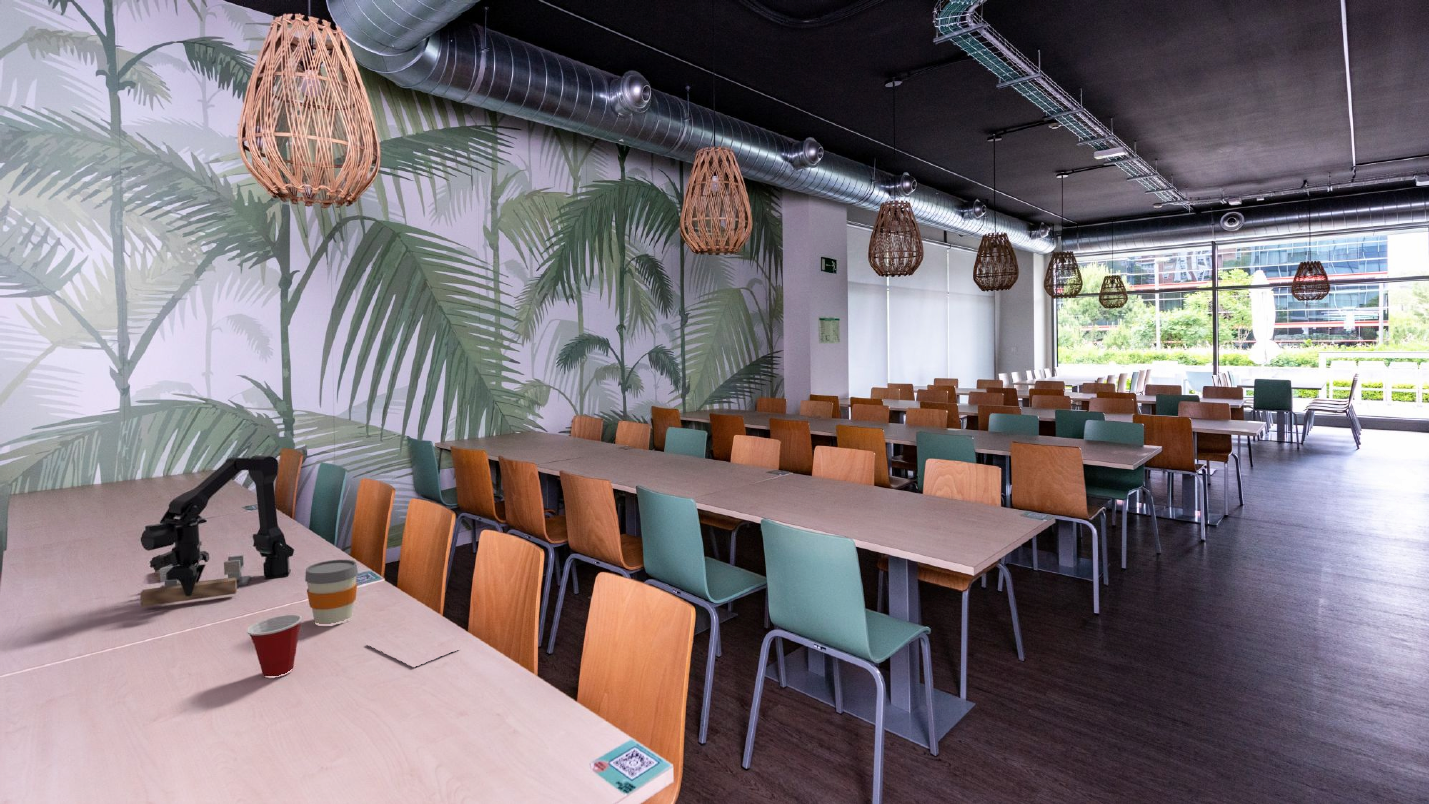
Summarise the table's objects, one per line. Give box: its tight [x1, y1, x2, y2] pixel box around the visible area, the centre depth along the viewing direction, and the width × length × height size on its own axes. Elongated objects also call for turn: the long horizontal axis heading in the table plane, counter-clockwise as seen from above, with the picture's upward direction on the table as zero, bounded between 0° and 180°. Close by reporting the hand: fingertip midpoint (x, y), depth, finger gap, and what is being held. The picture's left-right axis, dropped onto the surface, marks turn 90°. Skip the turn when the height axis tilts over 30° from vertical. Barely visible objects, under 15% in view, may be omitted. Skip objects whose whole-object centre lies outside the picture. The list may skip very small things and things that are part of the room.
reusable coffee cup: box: [304, 559, 359, 624], centre depth 190 cm, size 12×13×15 cm
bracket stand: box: [159, 554, 252, 587], centre depth 216 cm, size 23×7×8 cm, turn 114°
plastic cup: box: [245, 613, 303, 677], centre depth 159 cm, size 11×11×12 cm
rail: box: [140, 577, 238, 608], centre depth 202 cm, size 22×3×4 cm, turn 119°
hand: (190, 594), depth 202 cm, fingers closed on rail, 3 cm apart
